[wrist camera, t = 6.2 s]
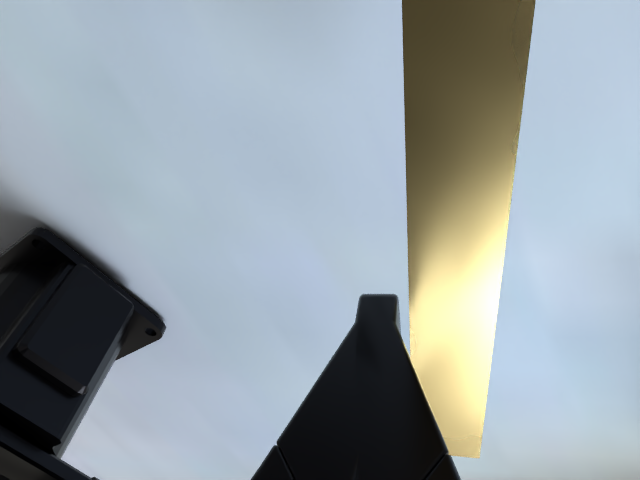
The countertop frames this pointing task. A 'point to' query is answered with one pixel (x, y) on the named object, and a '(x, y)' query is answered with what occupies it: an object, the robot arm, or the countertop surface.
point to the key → (460, 193)
